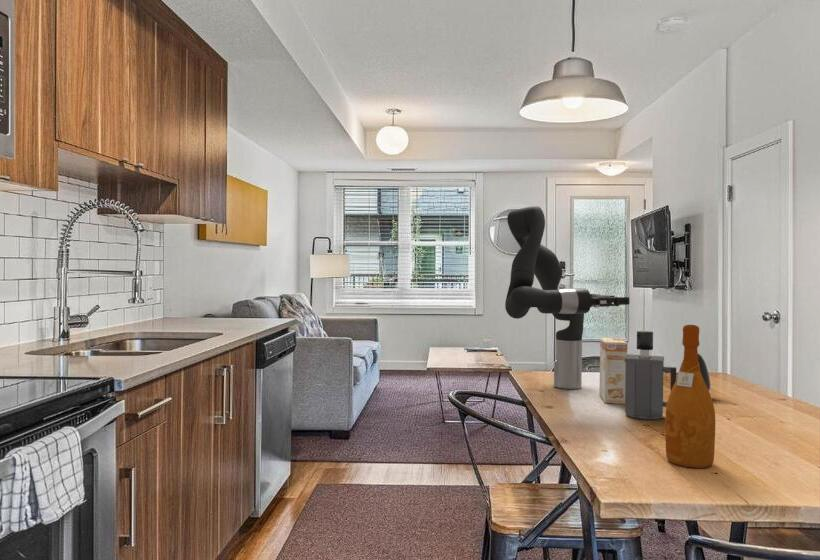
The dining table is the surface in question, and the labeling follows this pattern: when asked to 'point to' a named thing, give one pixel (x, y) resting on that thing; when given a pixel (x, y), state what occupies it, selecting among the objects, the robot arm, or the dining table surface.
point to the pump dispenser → (703, 371)
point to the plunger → (644, 343)
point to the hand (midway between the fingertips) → (621, 299)
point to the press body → (645, 386)
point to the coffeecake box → (612, 370)
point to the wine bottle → (690, 411)
